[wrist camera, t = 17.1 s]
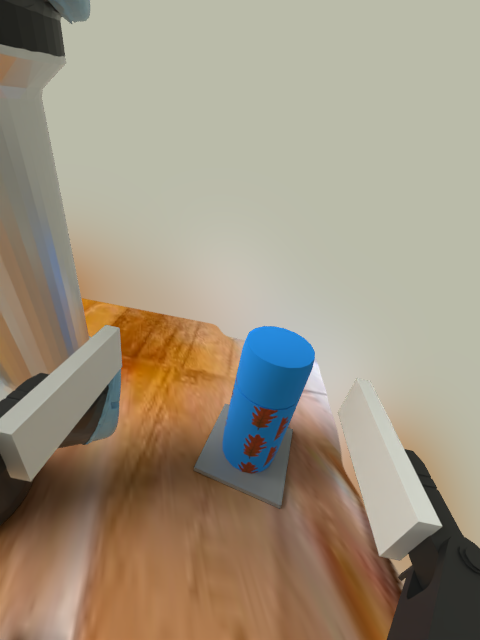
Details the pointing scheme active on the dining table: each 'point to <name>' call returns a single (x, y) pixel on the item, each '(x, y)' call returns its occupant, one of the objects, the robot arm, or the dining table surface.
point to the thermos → (265, 396)
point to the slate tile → (256, 484)
